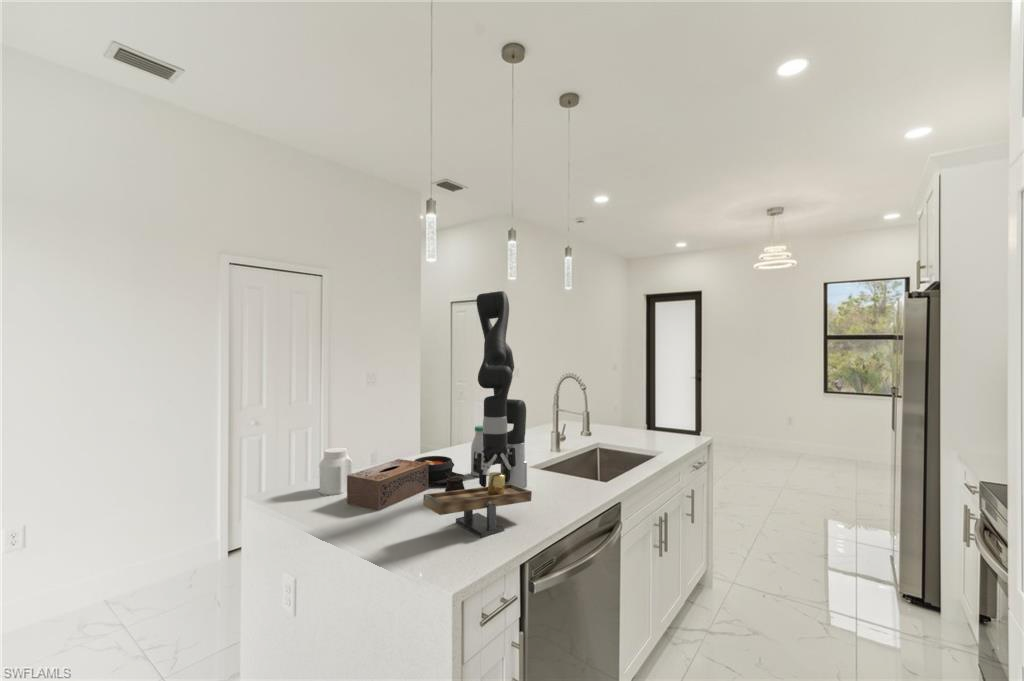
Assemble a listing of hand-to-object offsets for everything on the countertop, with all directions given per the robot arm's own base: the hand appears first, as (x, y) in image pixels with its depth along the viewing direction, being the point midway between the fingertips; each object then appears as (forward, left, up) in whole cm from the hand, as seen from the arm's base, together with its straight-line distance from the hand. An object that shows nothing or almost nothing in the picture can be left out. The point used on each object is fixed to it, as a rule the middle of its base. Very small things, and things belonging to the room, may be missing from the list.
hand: (494, 483), depth 142 cm
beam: (+6, 0, -4) cm, 7 cm away
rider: (0, 0, -3) cm, 3 cm away
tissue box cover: (+16, -43, -12) cm, 47 cm away
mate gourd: (0, -24, -12) cm, 27 cm away
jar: (+29, -62, -12) cm, 69 cm away
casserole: (-5, -50, -12) cm, 52 cm away
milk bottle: (-25, -46, -12) cm, 54 cm away
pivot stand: (+6, 0, -12) cm, 13 cm away
